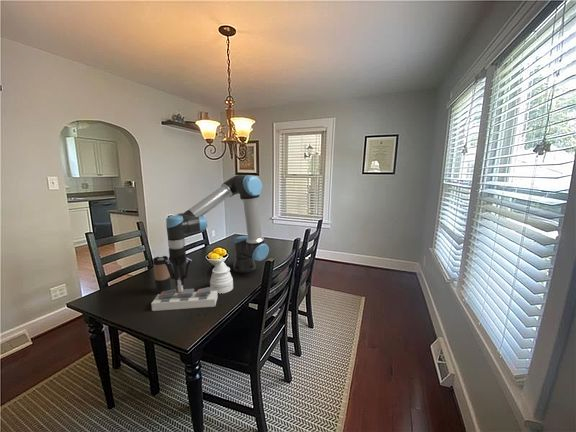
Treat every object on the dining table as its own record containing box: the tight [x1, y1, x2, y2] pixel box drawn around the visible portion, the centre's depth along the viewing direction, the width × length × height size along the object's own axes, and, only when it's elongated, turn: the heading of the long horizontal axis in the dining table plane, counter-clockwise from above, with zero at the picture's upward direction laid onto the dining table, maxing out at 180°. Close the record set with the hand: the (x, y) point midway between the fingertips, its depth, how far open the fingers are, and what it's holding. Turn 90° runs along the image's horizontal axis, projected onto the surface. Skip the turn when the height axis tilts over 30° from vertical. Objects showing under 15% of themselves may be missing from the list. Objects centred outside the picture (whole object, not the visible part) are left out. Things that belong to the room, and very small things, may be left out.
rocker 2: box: [196, 286, 212, 297], centre depth 129 cm, size 7×5×2 cm
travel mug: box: [152, 255, 172, 295], centre depth 139 cm, size 8×8×20 cm
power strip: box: [150, 291, 219, 312], centre depth 128 cm, size 30×9×4 cm, turn 98°
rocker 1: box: [158, 288, 177, 299], centre depth 127 cm, size 7×5×2 cm
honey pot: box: [209, 259, 234, 295], centre depth 143 cm, size 13×13×18 cm
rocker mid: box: [177, 288, 195, 297], centre depth 128 cm, size 7×5×2 cm
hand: (180, 290), depth 127 cm, fingers closed
